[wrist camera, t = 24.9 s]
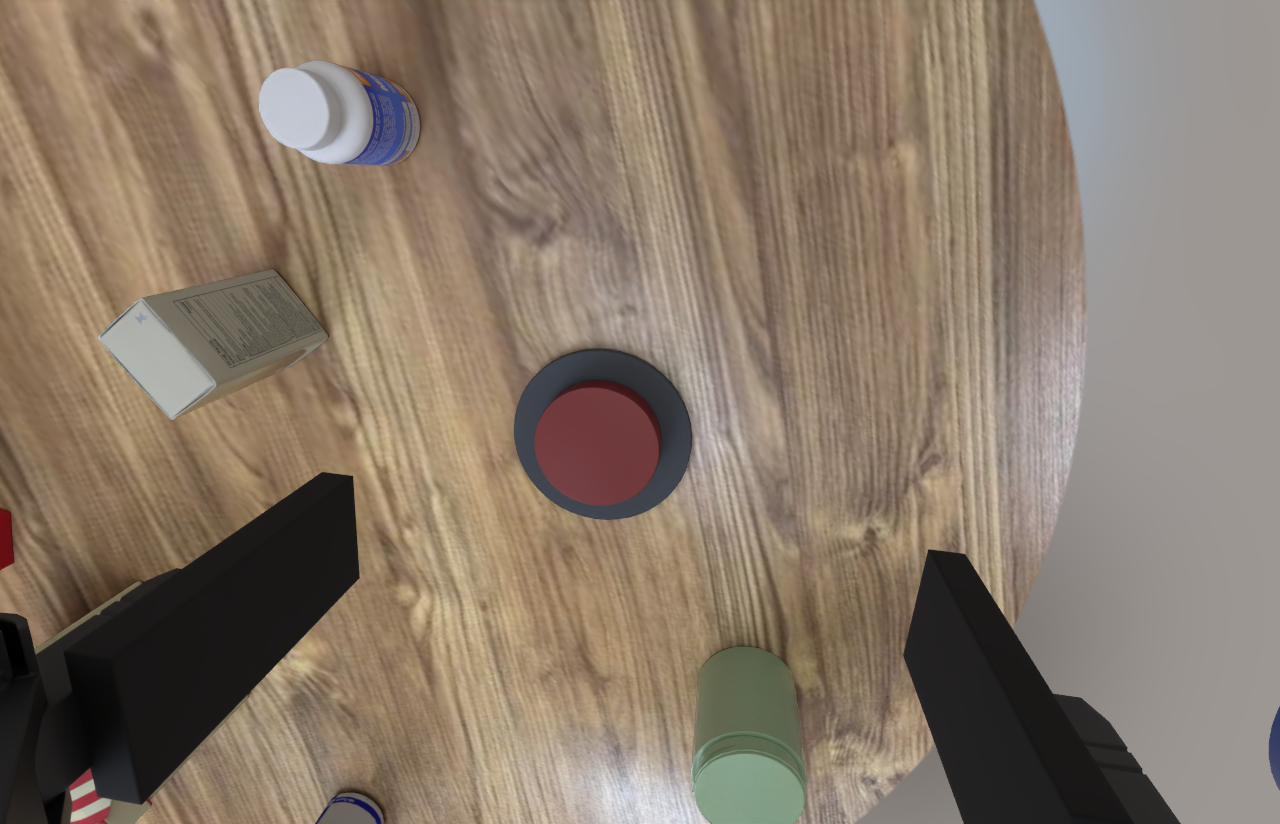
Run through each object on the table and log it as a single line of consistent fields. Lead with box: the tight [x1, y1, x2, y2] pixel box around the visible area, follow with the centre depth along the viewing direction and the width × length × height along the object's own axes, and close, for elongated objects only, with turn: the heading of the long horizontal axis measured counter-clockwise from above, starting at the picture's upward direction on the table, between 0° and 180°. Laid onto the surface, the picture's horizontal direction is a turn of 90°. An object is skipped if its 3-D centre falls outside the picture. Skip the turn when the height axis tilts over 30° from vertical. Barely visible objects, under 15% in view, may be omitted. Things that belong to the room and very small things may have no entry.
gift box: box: [34, 581, 249, 824], centre depth 54 cm, size 17×18×17 cm
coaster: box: [514, 349, 692, 520], centre depth 50 cm, size 13×13×1 cm
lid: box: [534, 380, 662, 506], centre depth 49 cm, size 9×9×2 cm
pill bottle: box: [259, 61, 420, 166], centre depth 41 cm, size 5×5×10 cm
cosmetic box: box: [98, 269, 328, 420], centre depth 45 cm, size 6×4×12 cm
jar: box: [691, 646, 807, 824], centre depth 50 cm, size 8×8×11 cm
